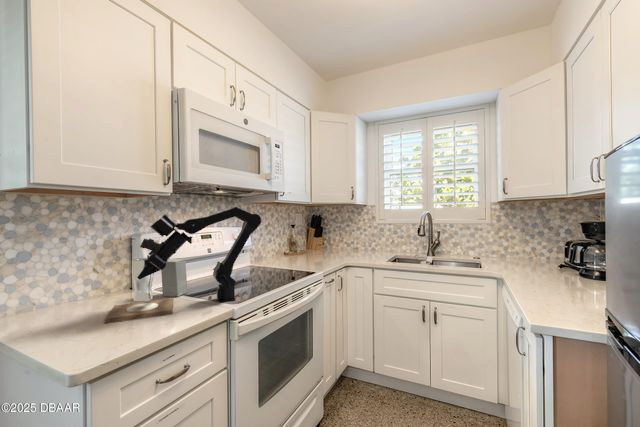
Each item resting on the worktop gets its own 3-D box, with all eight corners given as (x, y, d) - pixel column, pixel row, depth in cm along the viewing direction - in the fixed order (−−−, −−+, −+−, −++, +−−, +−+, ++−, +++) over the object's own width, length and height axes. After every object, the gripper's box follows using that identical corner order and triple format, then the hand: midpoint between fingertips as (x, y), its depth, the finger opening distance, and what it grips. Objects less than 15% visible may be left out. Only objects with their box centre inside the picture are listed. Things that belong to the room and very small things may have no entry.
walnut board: (173, 302, 118) (173, 297, 118) (172, 314, 103) (172, 309, 103) (114, 309, 109) (114, 304, 109) (104, 323, 95) (104, 318, 95)
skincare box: (187, 293, 131) (187, 258, 131) (176, 297, 124) (176, 261, 124) (172, 292, 133) (172, 258, 133) (160, 296, 126) (160, 260, 126)
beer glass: (156, 296, 111) (155, 257, 111) (151, 301, 104) (150, 259, 104) (135, 298, 109) (135, 258, 109) (129, 303, 102) (128, 261, 102)
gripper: (154, 229, 117) (122, 259, 111) (154, 231, 100) (116, 266, 95) (176, 247, 120) (146, 277, 115) (180, 252, 104) (144, 287, 99)
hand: (138, 276), depth 106 cm, fingers closed on beer glass, 7 cm apart
